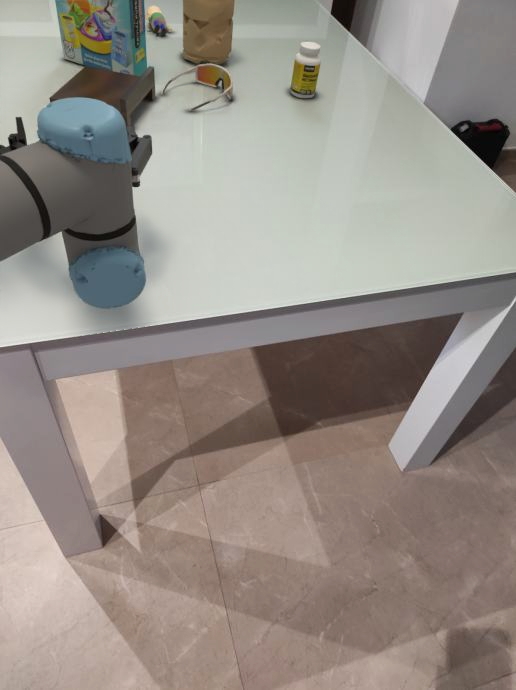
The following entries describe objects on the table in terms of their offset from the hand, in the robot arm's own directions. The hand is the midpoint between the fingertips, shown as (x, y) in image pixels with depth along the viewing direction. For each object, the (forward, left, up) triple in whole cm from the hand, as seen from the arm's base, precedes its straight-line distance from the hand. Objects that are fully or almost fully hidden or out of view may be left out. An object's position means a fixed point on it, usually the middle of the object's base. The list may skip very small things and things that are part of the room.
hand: (71, 123), depth 74 cm
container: (+2, +74, -15) cm, 76 cm away
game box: (-19, +57, -15) cm, 62 cm away
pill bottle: (+29, +63, -15) cm, 71 cm away
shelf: (-11, +37, -15) cm, 42 cm away
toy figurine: (-16, +89, -15) cm, 92 cm away
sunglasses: (+6, +51, -15) cm, 54 cm away
